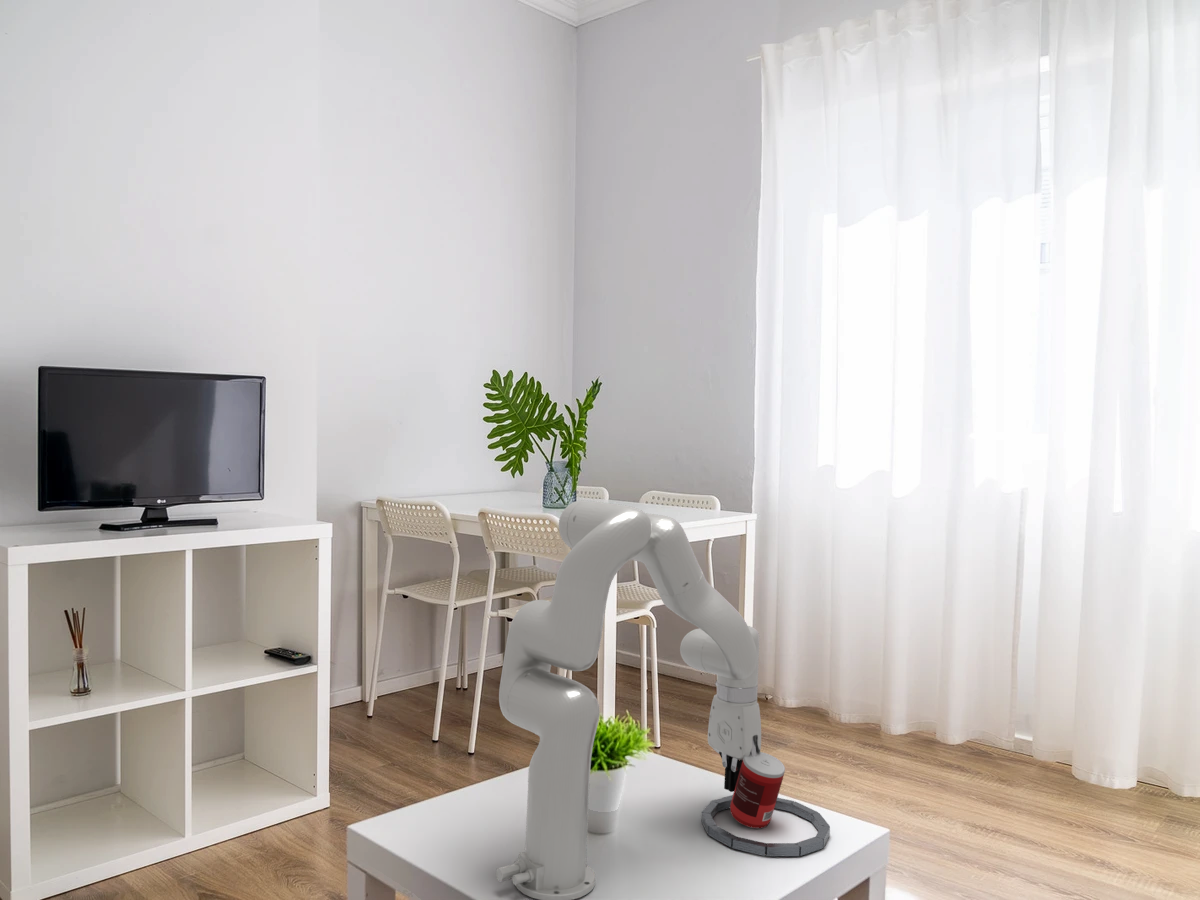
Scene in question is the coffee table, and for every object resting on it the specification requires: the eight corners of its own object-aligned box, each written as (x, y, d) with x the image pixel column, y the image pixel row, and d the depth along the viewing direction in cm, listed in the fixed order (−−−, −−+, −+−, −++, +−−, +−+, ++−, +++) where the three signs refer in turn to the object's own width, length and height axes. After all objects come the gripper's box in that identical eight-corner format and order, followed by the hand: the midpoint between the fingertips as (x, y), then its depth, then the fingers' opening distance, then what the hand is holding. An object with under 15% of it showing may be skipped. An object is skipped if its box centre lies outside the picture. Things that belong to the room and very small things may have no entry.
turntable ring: (766, 867, 151) (767, 849, 151) (678, 817, 169) (678, 801, 169) (853, 837, 164) (854, 820, 164) (763, 794, 181) (764, 779, 181)
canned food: (768, 810, 173) (783, 757, 171) (771, 834, 165) (787, 779, 163) (728, 799, 173) (743, 746, 171) (729, 822, 166) (744, 767, 164)
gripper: (695, 685, 177) (691, 779, 177) (751, 706, 165) (747, 808, 165) (723, 679, 181) (720, 771, 182) (780, 699, 169) (776, 798, 170)
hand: (733, 788), depth 174 cm, fingers closed
